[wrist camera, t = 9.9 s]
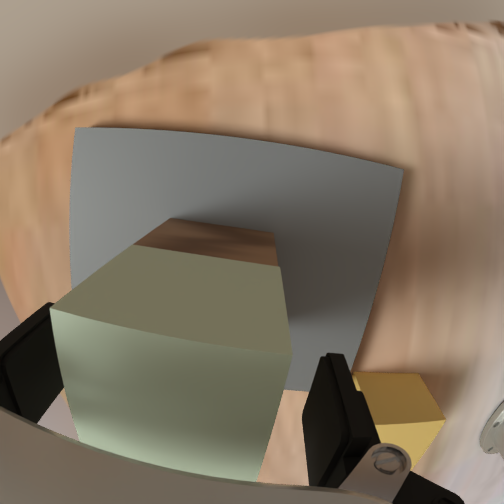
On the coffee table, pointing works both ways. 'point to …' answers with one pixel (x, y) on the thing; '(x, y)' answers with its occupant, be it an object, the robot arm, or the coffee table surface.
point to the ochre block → (401, 410)
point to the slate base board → (246, 218)
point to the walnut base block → (213, 241)
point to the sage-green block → (176, 359)
